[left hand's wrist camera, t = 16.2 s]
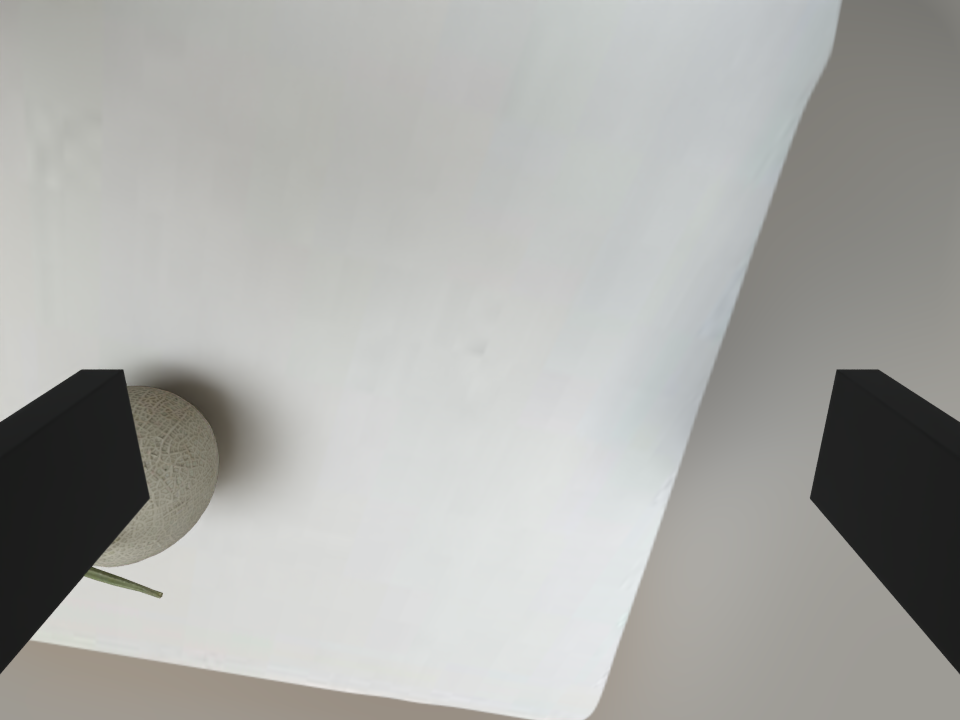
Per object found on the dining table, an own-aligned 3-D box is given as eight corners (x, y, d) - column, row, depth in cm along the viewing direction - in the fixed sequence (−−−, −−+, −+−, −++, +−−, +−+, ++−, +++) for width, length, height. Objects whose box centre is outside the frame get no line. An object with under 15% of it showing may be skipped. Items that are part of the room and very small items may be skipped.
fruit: (52, 407, 46) (-136, 536, 32) (186, 337, 44) (49, 441, 30) (143, 519, 49) (9, 681, 35) (271, 458, 47) (184, 604, 33)
